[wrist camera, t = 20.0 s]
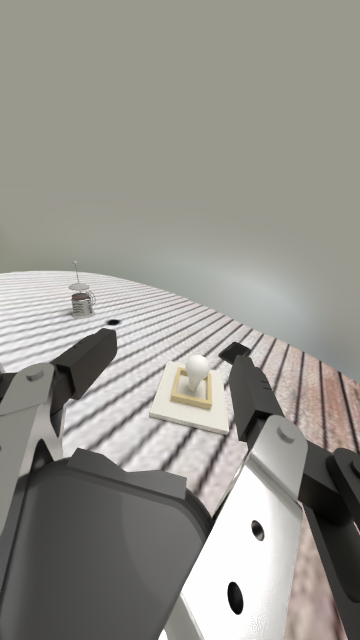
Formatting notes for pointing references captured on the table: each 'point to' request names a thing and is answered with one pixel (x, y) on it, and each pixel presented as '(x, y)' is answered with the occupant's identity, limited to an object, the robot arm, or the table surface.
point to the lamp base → (191, 400)
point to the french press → (77, 305)
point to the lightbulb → (196, 370)
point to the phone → (234, 352)
